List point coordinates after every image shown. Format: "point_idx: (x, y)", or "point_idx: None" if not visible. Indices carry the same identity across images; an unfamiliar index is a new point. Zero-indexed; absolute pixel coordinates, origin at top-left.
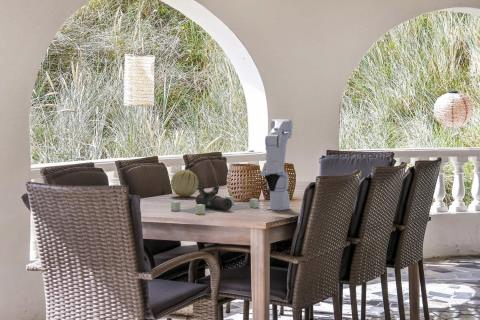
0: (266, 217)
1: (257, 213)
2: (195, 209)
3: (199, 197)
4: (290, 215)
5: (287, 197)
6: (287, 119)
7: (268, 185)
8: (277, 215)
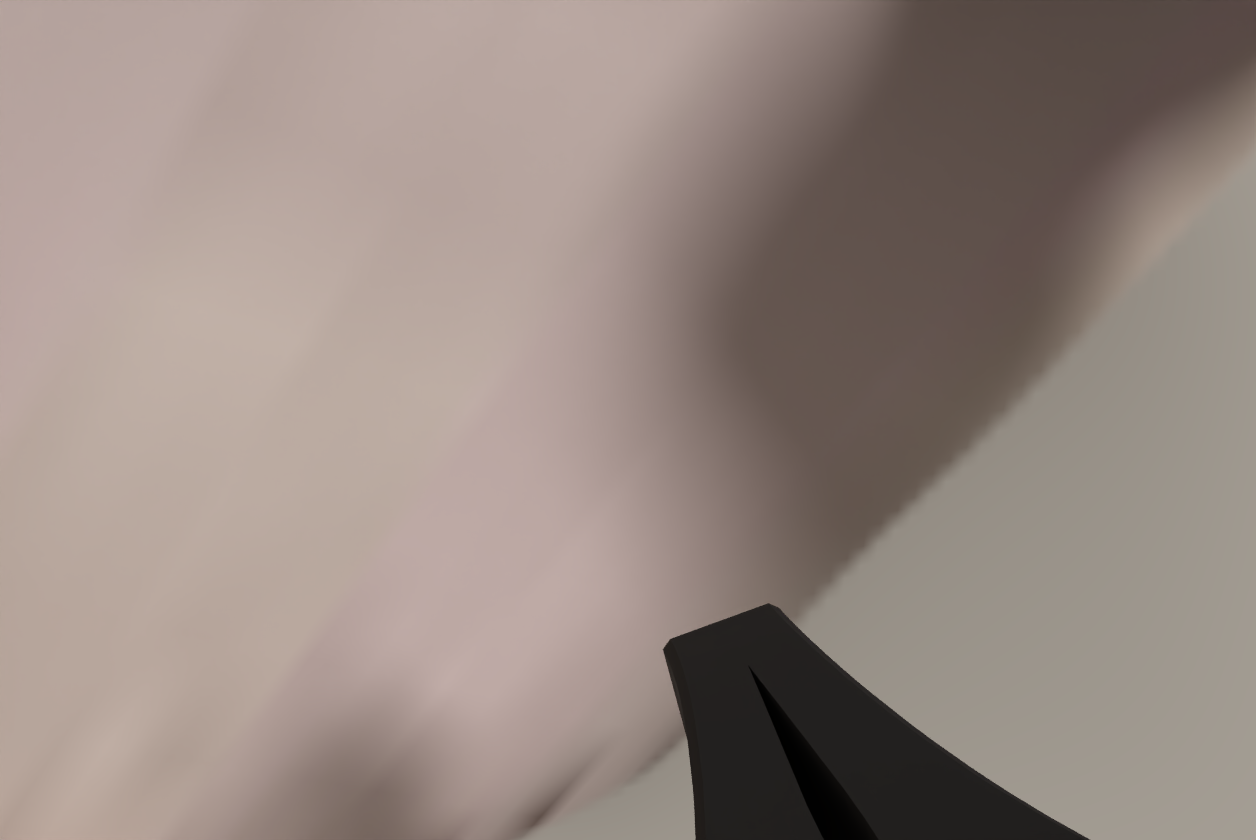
0: (94, 766)
1: (227, 146)
2: None
3: None
4: None
5: None
6: None
7: (698, 800)
8: (479, 587)
